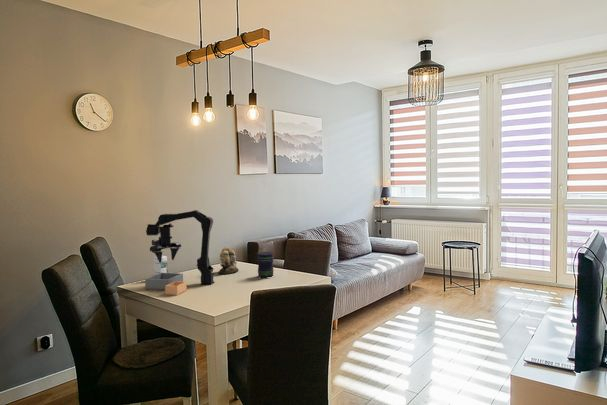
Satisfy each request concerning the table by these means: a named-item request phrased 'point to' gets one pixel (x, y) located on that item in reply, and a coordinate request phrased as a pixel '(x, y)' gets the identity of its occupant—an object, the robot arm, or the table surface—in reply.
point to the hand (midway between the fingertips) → (166, 261)
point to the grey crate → (162, 280)
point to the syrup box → (160, 265)
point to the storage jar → (265, 264)
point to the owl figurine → (228, 261)
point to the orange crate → (175, 288)
